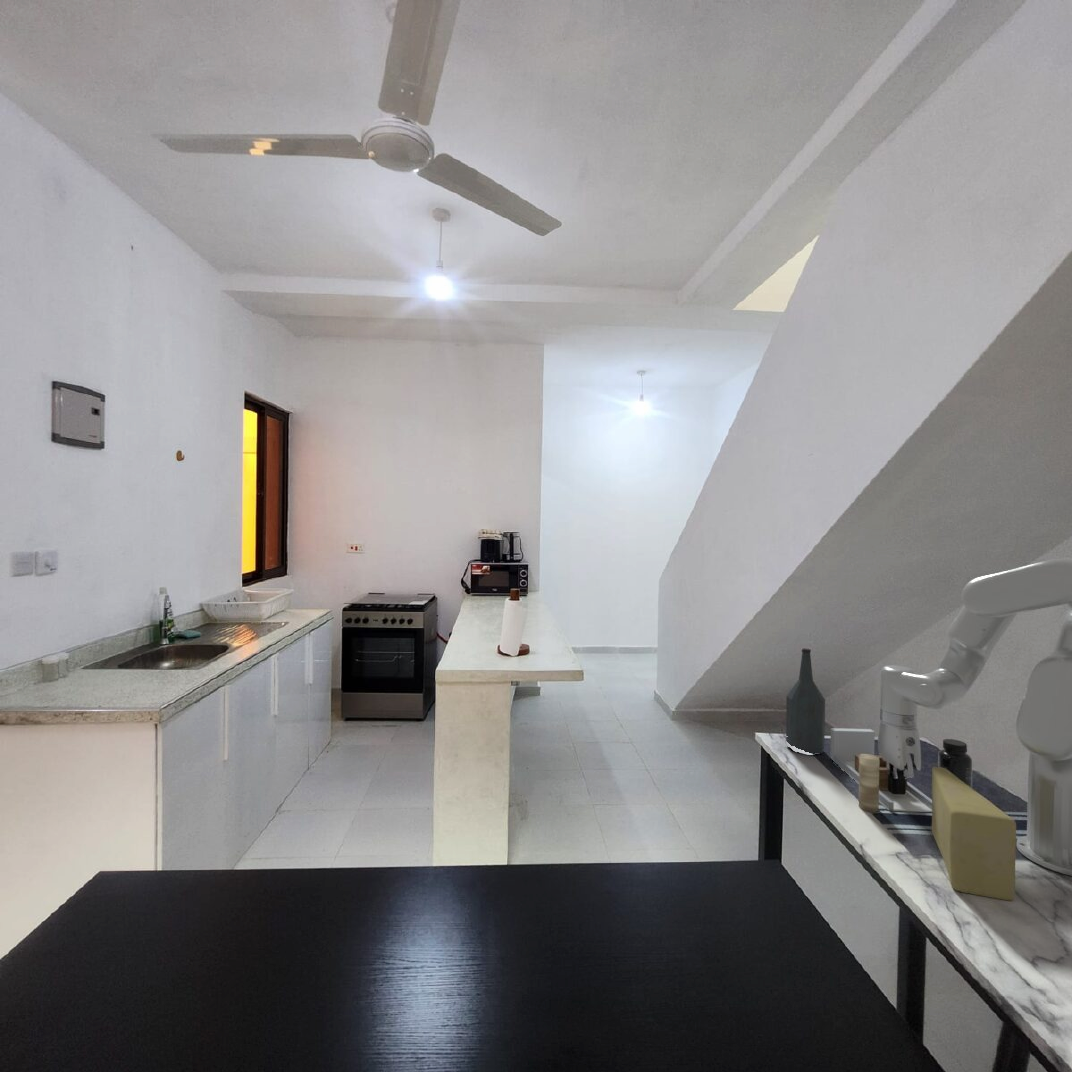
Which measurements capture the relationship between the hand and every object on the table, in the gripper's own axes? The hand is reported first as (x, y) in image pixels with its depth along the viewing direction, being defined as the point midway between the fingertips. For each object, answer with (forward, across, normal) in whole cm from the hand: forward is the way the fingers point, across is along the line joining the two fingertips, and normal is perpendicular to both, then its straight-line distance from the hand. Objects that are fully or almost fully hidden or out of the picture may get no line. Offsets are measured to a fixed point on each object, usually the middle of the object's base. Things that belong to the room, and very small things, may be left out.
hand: (896, 792), depth 132 cm
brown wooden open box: (+1, +7, 0) cm, 7 cm away
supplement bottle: (+2, +6, -18) cm, 19 cm away
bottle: (+2, +29, +9) cm, 30 cm away
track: (+1, +8, 0) cm, 8 cm away
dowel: (+1, -5, +9) cm, 11 cm away
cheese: (+2, -25, +3) cm, 25 cm away
